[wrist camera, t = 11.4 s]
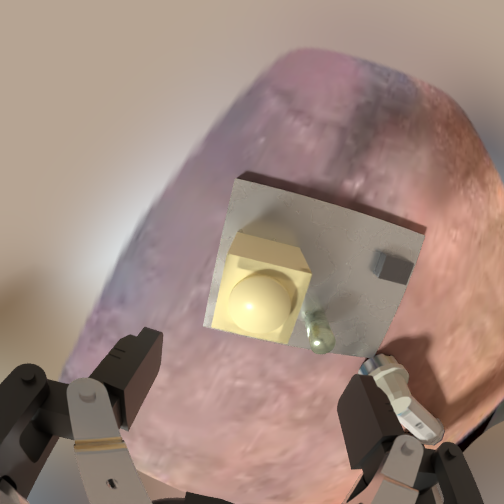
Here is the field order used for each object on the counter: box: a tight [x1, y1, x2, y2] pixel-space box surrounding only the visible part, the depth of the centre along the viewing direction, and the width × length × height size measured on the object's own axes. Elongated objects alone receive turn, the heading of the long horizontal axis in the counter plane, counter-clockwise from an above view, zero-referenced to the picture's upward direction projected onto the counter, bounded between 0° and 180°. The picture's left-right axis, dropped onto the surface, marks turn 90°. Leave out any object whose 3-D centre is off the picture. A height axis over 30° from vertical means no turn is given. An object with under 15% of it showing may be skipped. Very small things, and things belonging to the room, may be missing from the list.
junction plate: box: [203, 178, 425, 358], centre depth 20 cm, size 17×13×6 cm
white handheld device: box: [358, 354, 445, 445], centre depth 25 cm, size 5×7×25 cm
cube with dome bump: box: [211, 232, 312, 344], centre depth 19 cm, size 5×5×7 cm
